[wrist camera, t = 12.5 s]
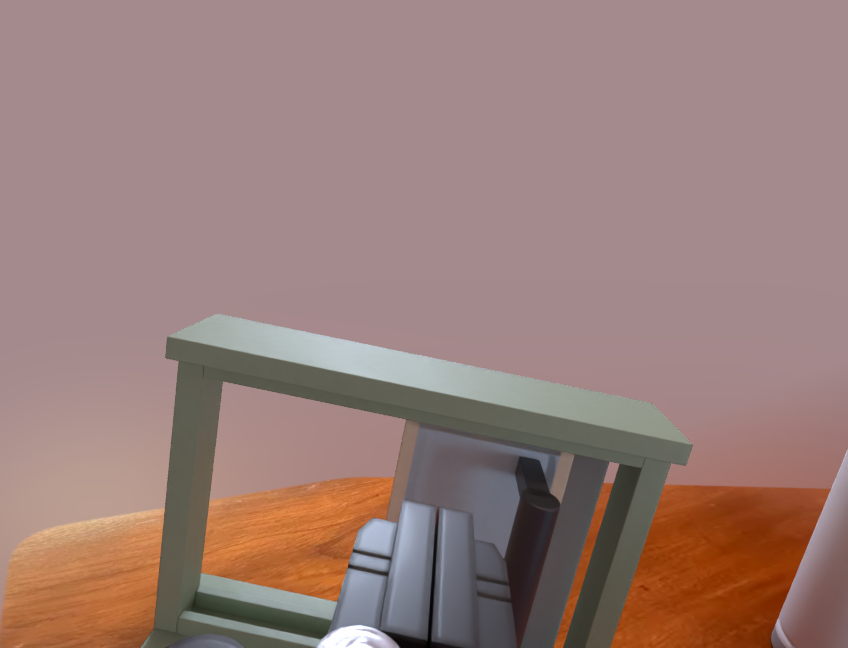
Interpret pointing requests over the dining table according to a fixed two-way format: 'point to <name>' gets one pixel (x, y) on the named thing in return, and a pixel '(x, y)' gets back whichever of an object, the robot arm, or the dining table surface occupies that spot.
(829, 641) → the travel mug
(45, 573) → the dining table surface
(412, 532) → the robot arm
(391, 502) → the sash
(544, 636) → the window frame
